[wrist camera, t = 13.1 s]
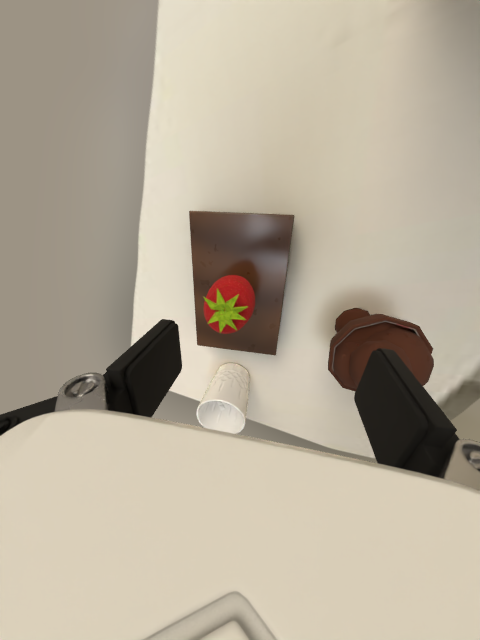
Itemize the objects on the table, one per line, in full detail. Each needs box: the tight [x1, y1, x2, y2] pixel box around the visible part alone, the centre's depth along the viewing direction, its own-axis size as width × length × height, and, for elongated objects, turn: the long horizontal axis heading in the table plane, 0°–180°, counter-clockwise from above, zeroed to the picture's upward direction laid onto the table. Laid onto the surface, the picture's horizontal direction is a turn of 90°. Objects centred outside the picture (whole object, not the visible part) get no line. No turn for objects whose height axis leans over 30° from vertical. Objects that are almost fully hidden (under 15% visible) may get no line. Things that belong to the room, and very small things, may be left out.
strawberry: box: [203, 275, 255, 334], centre depth 26 cm, size 6×8×10 cm
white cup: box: [196, 363, 250, 434], centre depth 38 cm, size 8×8×10 cm
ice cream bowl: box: [328, 308, 434, 391], centre depth 27 cm, size 11×11×15 cm
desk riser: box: [189, 211, 294, 355], centre depth 32 cm, size 20×13×4 cm, turn 178°
